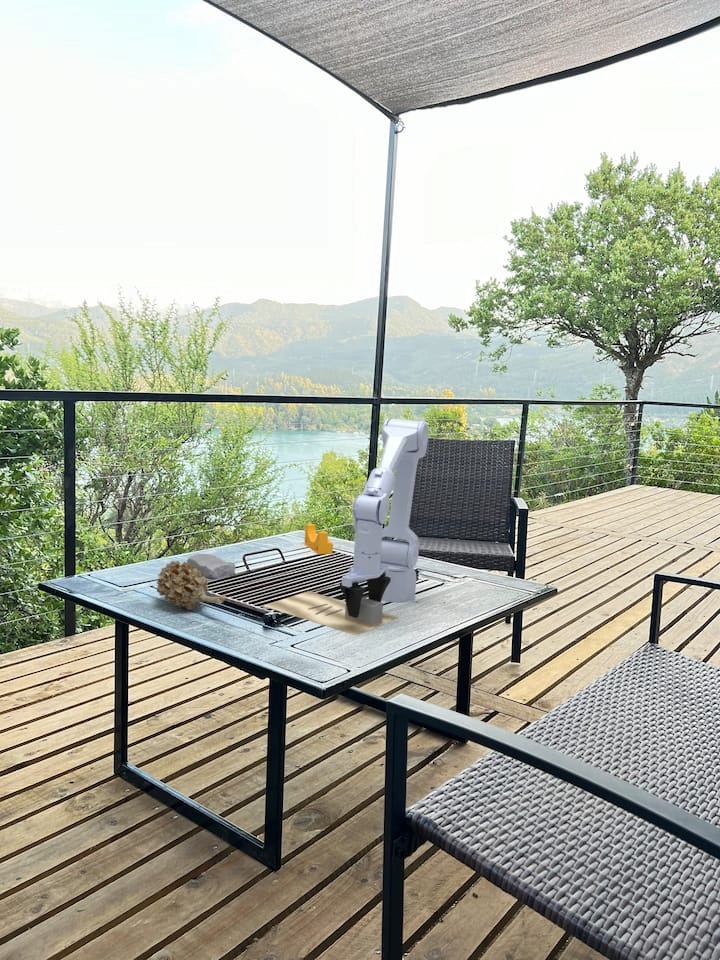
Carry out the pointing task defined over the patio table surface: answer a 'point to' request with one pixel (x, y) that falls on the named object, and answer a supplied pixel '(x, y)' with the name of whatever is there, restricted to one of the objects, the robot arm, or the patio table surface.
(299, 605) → the board
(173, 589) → the dried flower head
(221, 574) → the stone block
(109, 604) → the patio table surface
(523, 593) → the patio table surface
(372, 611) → the block
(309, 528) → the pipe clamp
